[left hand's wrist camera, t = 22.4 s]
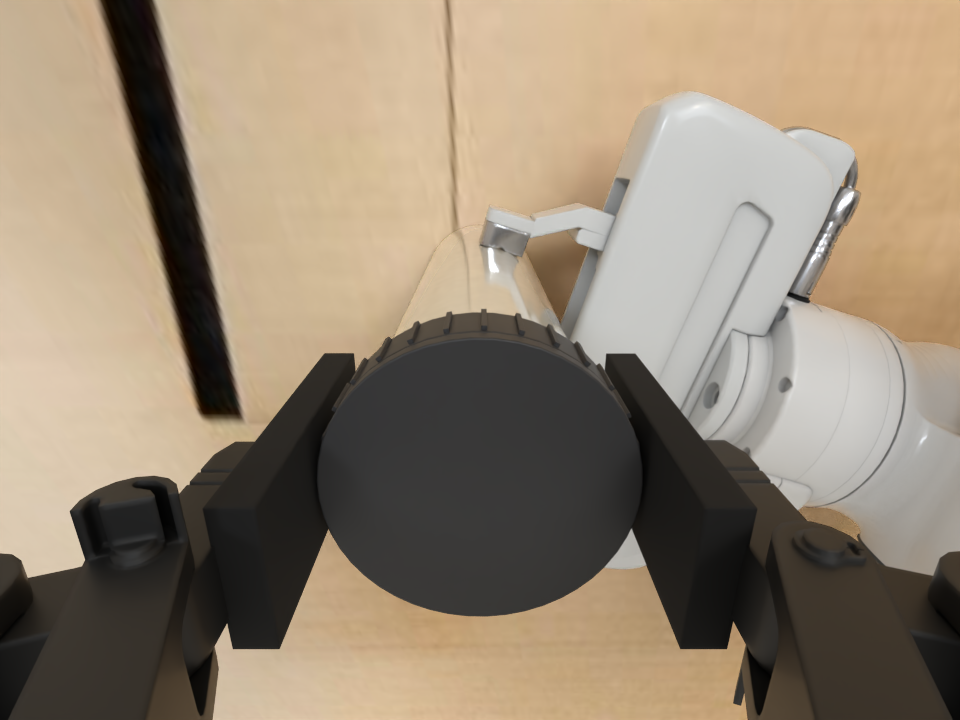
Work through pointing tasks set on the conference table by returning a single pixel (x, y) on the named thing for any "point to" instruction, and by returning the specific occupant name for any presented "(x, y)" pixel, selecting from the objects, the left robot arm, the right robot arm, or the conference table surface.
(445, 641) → the conference table surface
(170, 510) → the left robot arm
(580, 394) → the lid
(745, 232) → the right robot arm
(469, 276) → the jar
